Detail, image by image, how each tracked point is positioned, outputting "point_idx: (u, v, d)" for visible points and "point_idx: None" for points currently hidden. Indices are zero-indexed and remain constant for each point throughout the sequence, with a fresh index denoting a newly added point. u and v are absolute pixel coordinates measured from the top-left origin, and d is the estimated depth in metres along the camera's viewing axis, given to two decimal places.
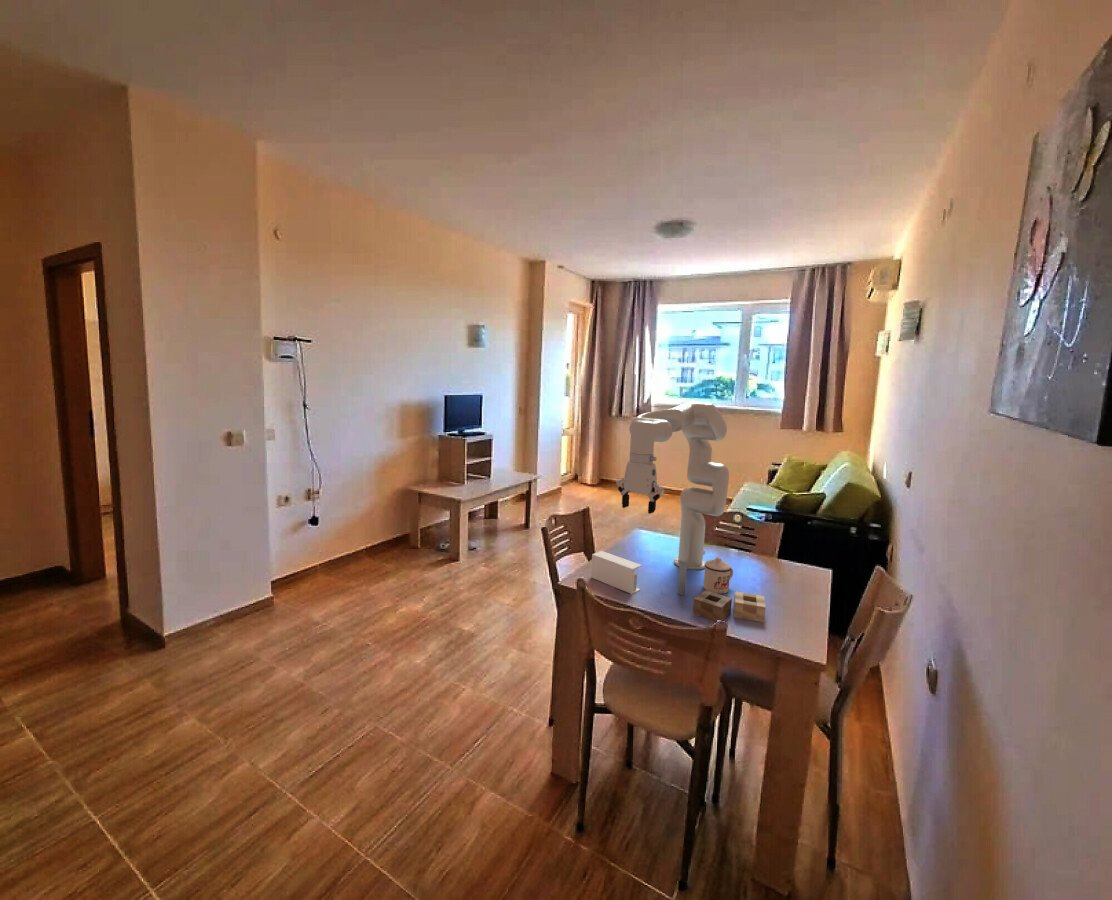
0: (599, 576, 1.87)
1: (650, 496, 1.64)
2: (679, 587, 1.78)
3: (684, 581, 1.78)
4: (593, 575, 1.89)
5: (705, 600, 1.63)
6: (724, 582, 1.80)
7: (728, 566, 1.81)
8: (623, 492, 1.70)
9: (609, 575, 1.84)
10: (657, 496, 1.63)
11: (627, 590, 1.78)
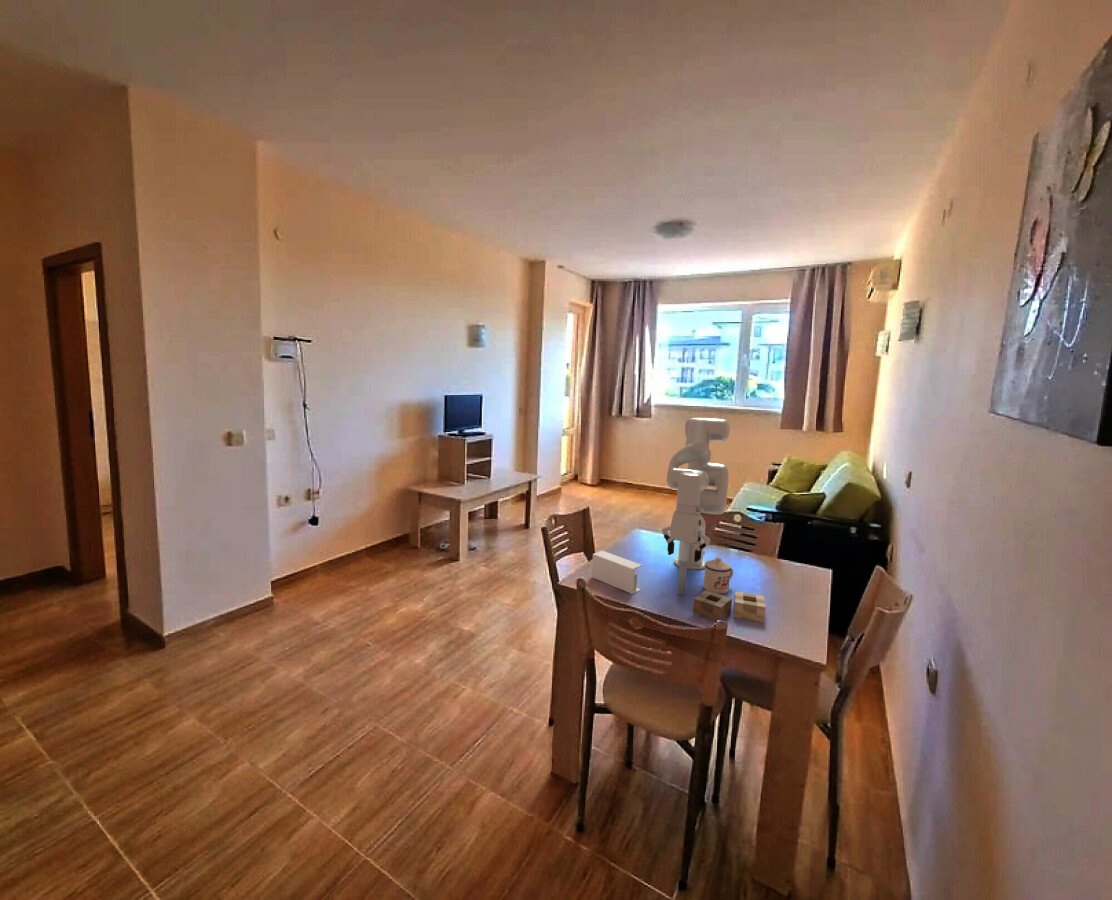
0: (599, 576, 1.88)
1: (696, 545, 1.72)
2: (679, 587, 1.78)
3: (684, 581, 1.78)
4: (594, 575, 1.90)
5: (705, 600, 1.63)
6: (724, 582, 1.80)
7: (728, 566, 1.81)
8: (669, 540, 1.78)
9: (609, 575, 1.84)
10: (703, 545, 1.71)
11: (627, 590, 1.78)
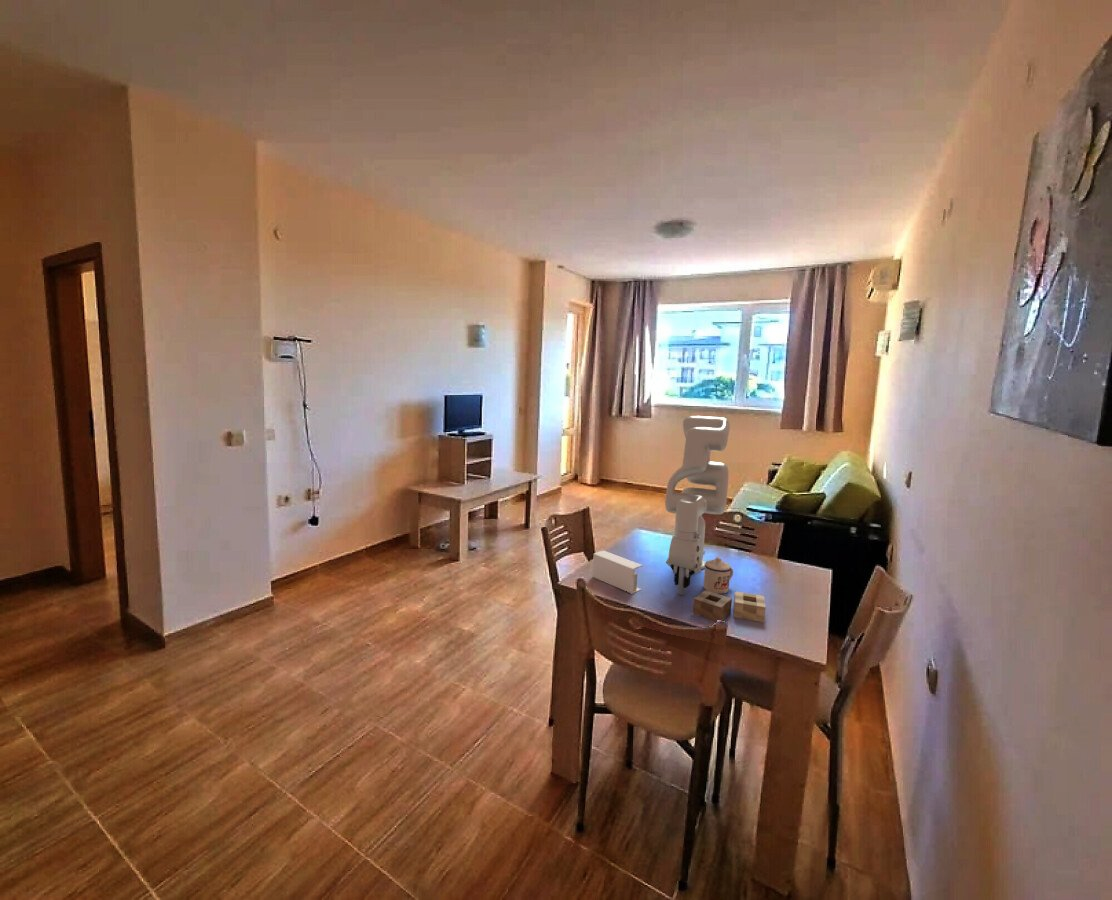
0: (600, 575, 1.88)
1: (687, 572, 1.76)
2: (679, 587, 1.78)
3: None
4: (594, 574, 1.90)
5: (705, 600, 1.63)
6: (724, 582, 1.80)
7: (728, 566, 1.81)
8: (674, 570, 1.79)
9: (610, 575, 1.84)
10: (692, 572, 1.75)
11: (627, 590, 1.79)
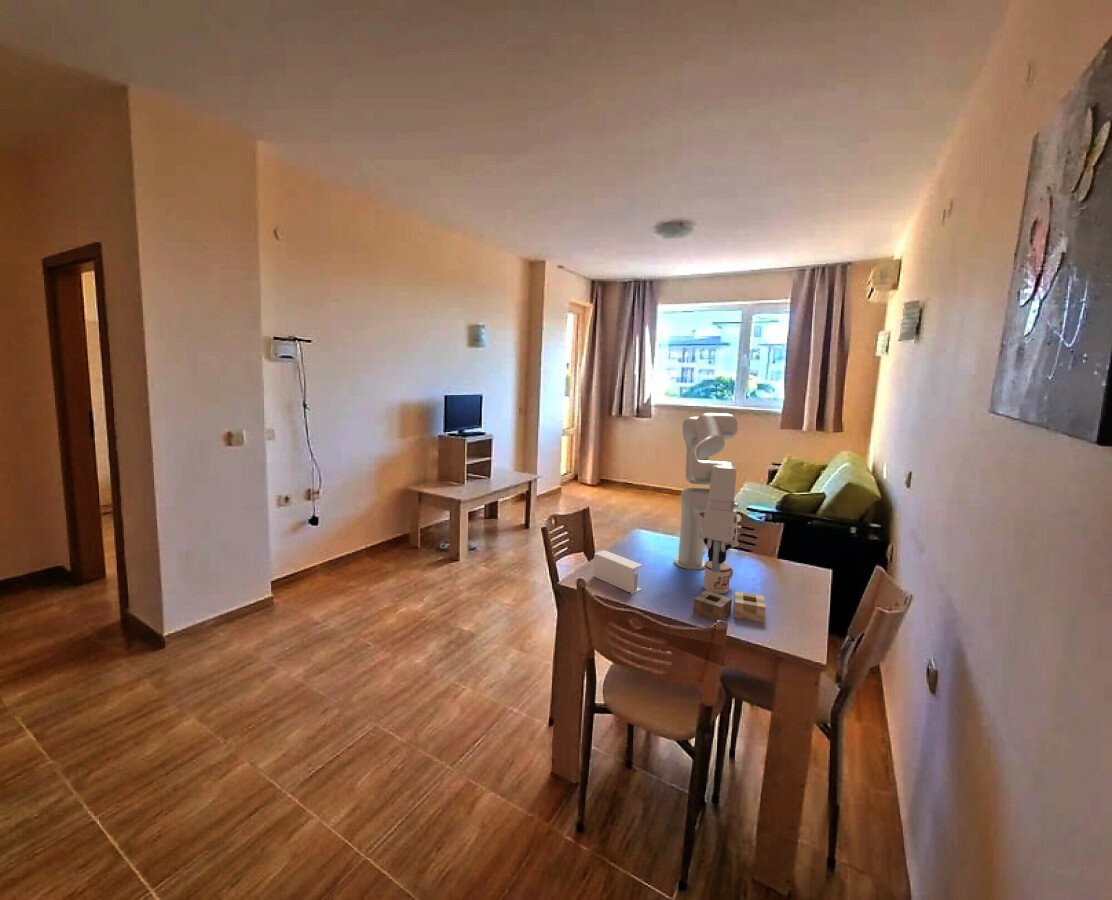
0: (601, 575, 1.88)
1: (723, 546, 1.59)
2: (713, 563, 1.62)
3: None
4: (595, 574, 1.90)
5: (705, 600, 1.63)
6: (724, 582, 1.80)
7: (728, 566, 1.81)
8: (708, 544, 1.62)
9: (610, 574, 1.84)
10: (729, 546, 1.58)
11: (627, 589, 1.79)
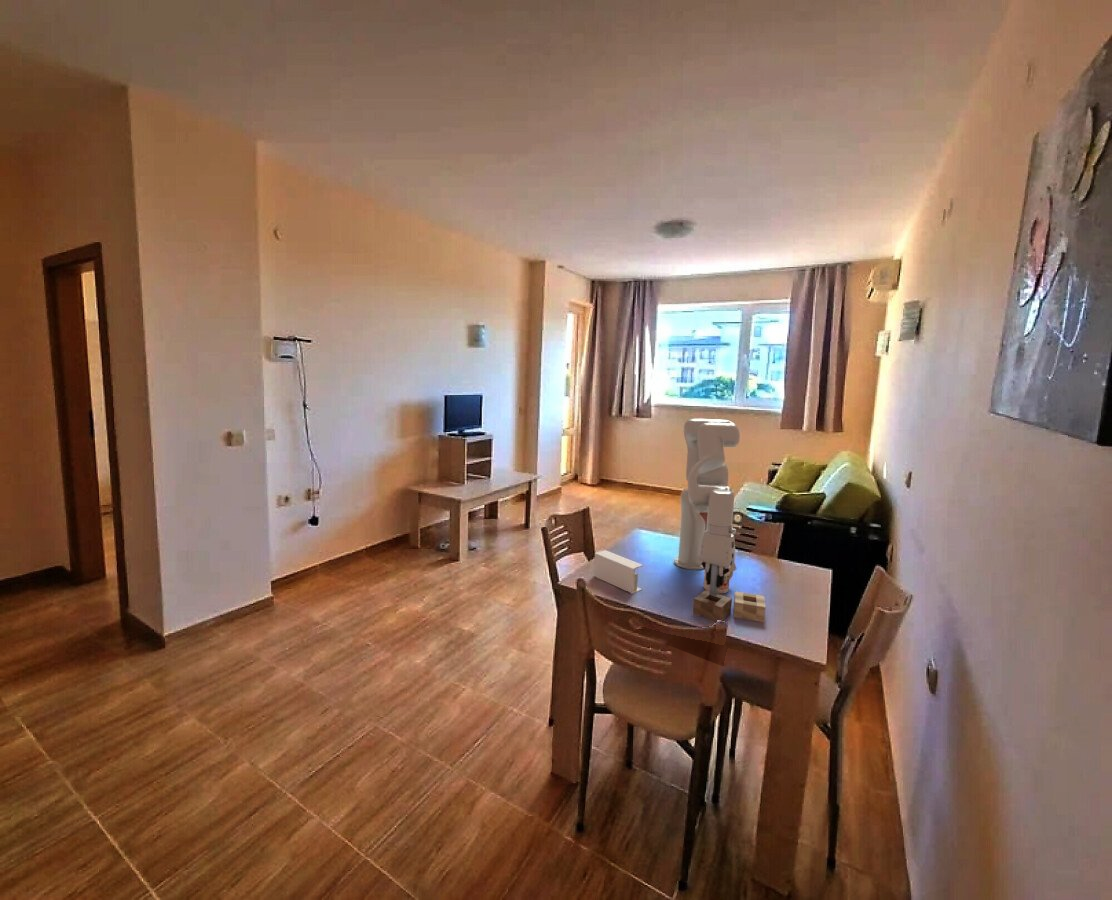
0: (601, 575, 1.88)
1: (721, 570, 1.60)
2: (711, 587, 1.63)
3: None
4: (596, 574, 1.91)
5: (705, 600, 1.63)
6: (724, 582, 1.80)
7: None
8: (706, 568, 1.63)
9: (611, 574, 1.85)
10: (726, 571, 1.60)
11: (627, 589, 1.79)
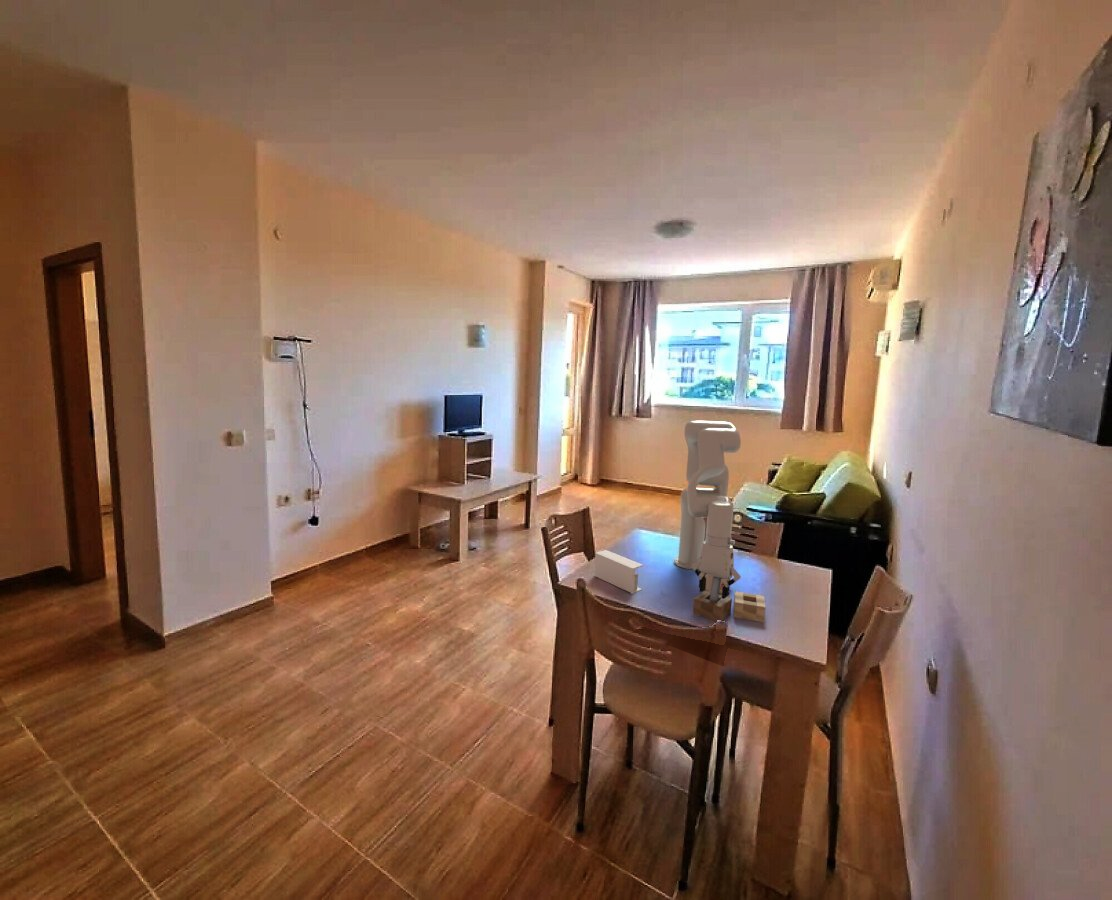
0: (602, 575, 1.89)
1: (725, 581, 1.60)
2: None
3: (716, 600, 1.63)
4: (596, 573, 1.91)
5: (705, 600, 1.63)
6: None
7: None
8: (700, 575, 1.65)
9: (611, 574, 1.85)
10: (732, 582, 1.59)
11: (628, 589, 1.79)
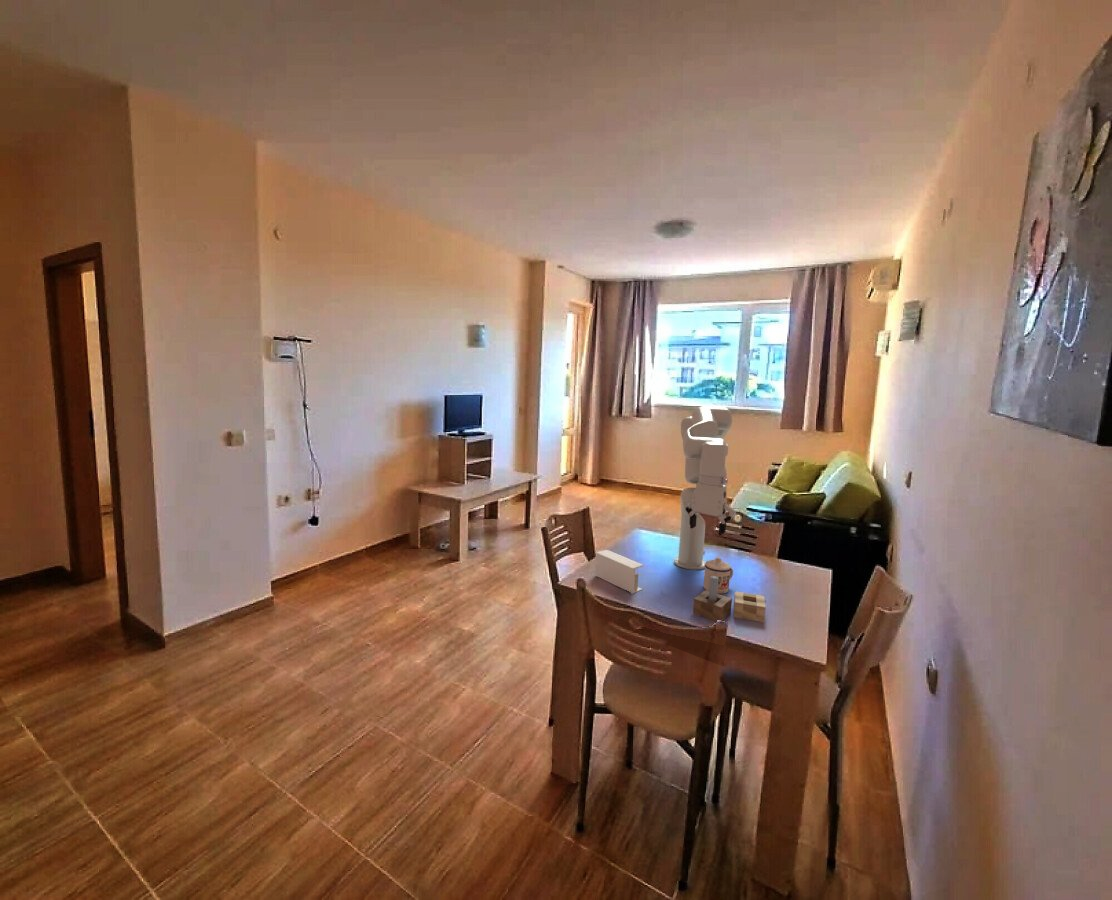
0: (602, 574, 1.89)
1: (721, 518, 1.63)
2: None
3: (715, 600, 1.63)
4: (597, 573, 1.91)
5: (705, 600, 1.63)
6: (724, 582, 1.80)
7: (728, 566, 1.81)
8: (691, 513, 1.70)
9: (611, 574, 1.85)
10: (729, 518, 1.62)
11: (628, 589, 1.79)
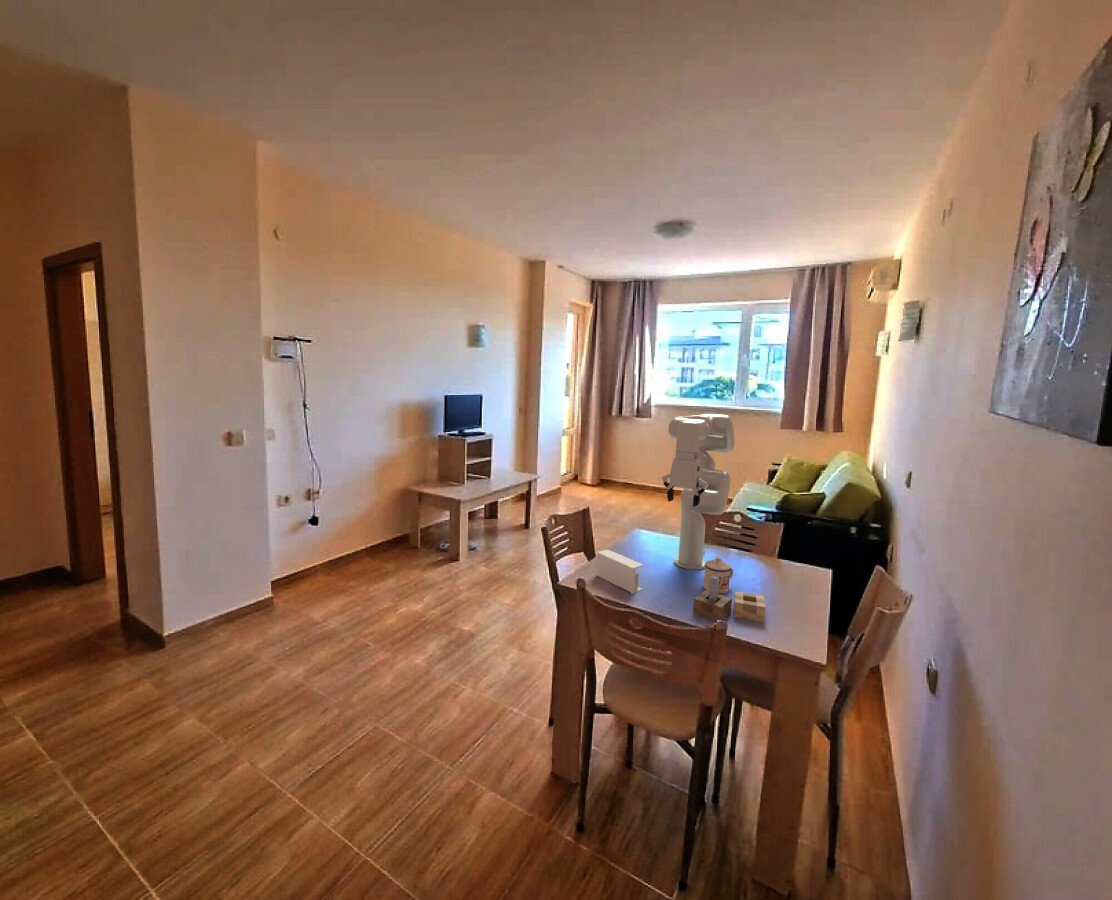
0: (603, 574, 1.89)
1: (695, 490, 1.79)
2: None
3: (715, 600, 1.63)
4: (598, 573, 1.92)
5: (705, 600, 1.63)
6: (724, 582, 1.80)
7: (728, 566, 1.81)
8: (669, 487, 1.85)
9: (612, 573, 1.85)
10: (702, 490, 1.77)
11: (628, 589, 1.79)
